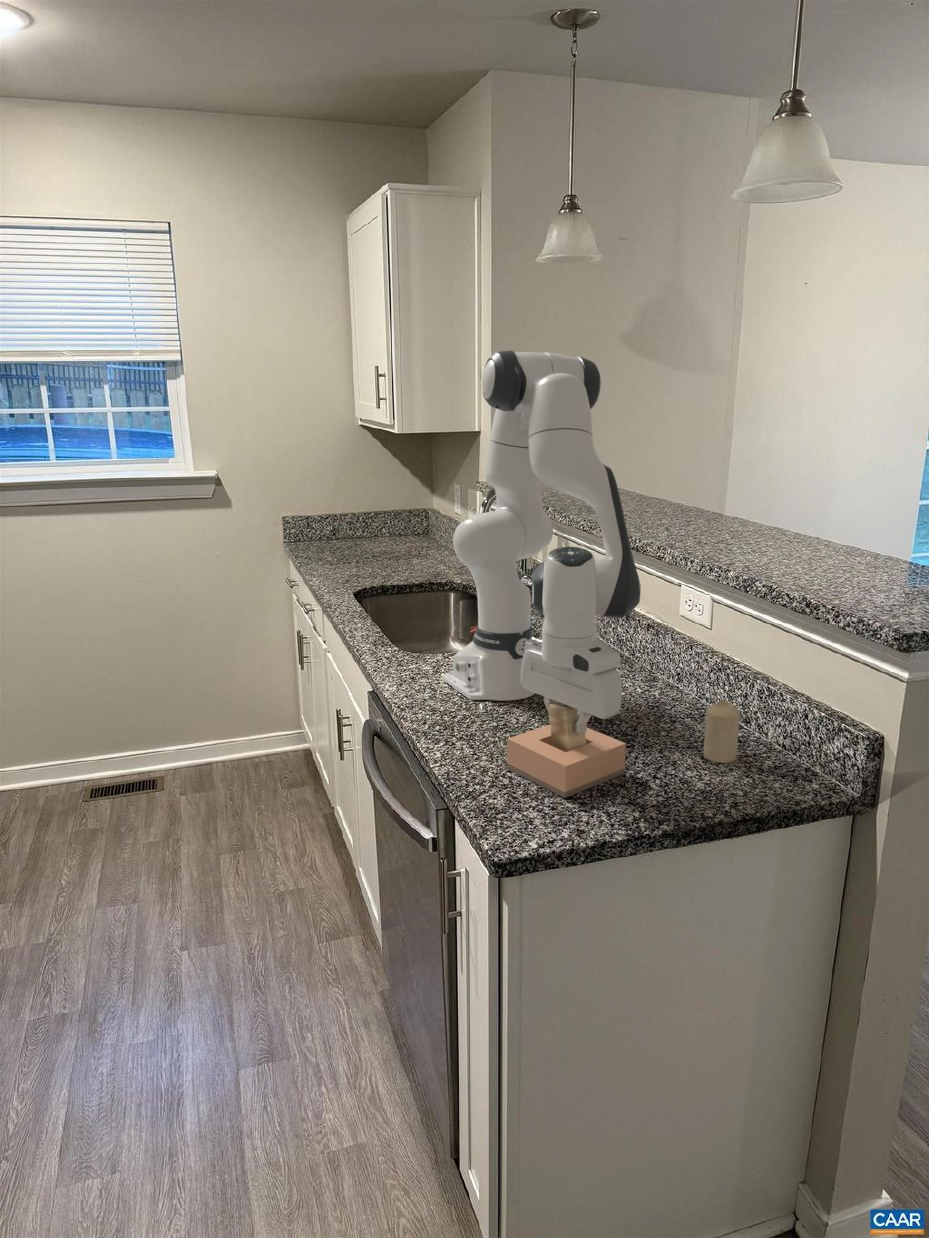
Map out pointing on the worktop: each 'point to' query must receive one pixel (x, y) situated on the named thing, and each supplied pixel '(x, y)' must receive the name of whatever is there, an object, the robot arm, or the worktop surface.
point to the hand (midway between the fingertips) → (567, 727)
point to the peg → (564, 727)
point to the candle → (721, 732)
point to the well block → (565, 761)
